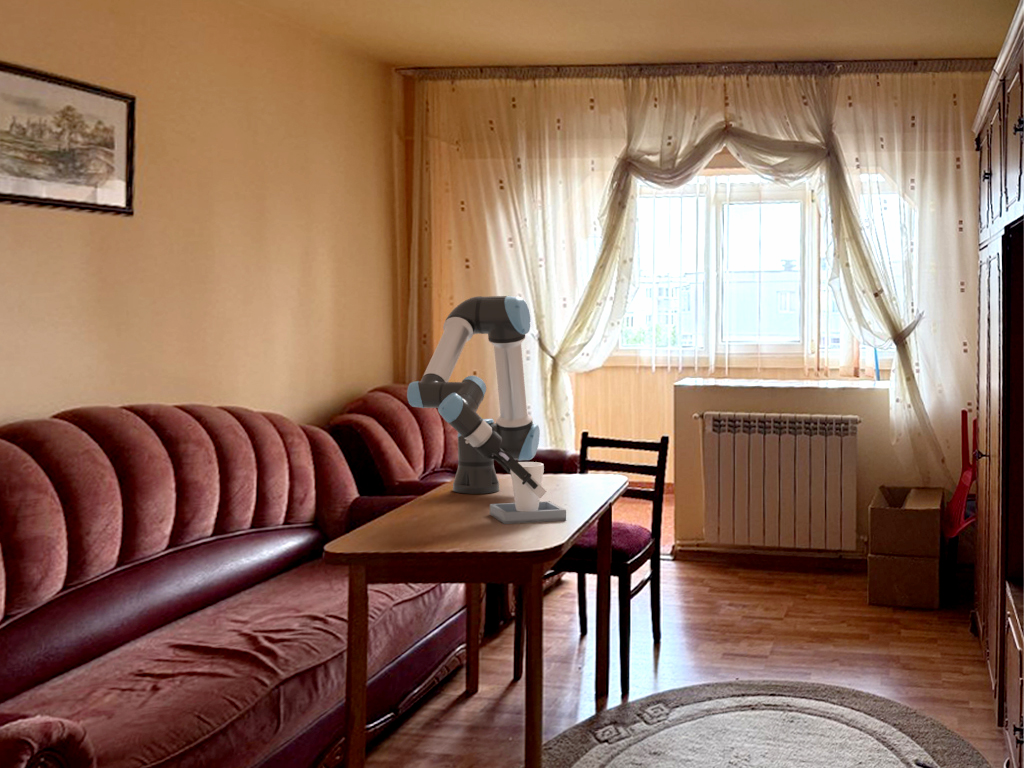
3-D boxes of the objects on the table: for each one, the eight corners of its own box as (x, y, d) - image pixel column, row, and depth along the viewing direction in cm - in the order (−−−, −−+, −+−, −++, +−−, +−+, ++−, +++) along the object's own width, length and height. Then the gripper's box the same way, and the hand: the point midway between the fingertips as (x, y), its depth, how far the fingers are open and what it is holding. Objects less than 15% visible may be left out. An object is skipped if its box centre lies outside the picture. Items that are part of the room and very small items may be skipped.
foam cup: (540, 513, 318) (540, 466, 317) (507, 512, 319) (507, 466, 319) (545, 507, 327) (545, 462, 326) (514, 506, 329) (514, 461, 328)
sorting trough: (489, 514, 328) (489, 504, 328) (549, 511, 333) (549, 501, 333) (504, 524, 313) (504, 513, 313) (566, 520, 318) (566, 509, 318)
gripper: (465, 444, 328) (517, 495, 334) (484, 453, 307) (540, 508, 313) (482, 425, 329) (535, 476, 335) (503, 433, 308) (558, 488, 314)
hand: (537, 492), depth 324 cm, fingers closed on foam cup, 9 cm apart
